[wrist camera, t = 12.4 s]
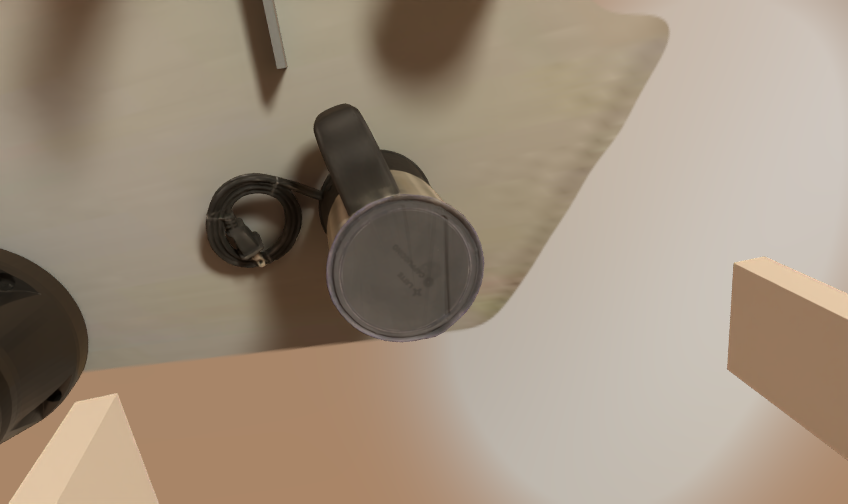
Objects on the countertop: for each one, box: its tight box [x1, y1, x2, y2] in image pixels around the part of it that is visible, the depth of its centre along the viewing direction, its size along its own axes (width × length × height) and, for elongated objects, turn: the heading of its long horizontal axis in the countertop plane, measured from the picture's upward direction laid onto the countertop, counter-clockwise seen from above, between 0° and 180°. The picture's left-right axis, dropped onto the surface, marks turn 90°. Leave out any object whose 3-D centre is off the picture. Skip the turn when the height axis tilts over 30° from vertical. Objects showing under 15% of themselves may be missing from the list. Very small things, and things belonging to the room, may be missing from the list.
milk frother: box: [206, 104, 484, 342], centre depth 39 cm, size 14×16×15 cm
